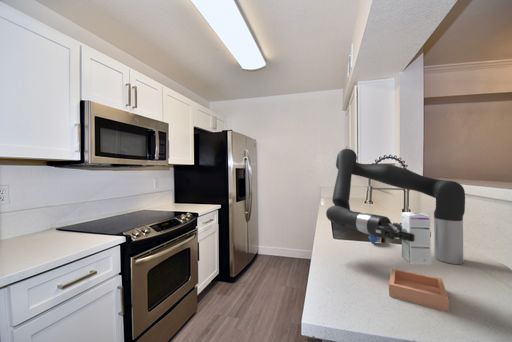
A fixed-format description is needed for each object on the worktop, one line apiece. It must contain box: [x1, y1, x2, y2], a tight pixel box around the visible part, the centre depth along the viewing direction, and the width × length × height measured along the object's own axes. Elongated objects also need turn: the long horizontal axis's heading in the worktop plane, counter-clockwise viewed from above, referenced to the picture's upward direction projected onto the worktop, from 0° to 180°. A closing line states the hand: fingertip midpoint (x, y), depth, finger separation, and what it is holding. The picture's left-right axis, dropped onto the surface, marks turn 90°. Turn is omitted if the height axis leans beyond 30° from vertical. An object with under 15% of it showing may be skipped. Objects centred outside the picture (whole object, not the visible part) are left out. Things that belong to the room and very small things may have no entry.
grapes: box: [368, 235, 379, 244], centre depth 116 cm, size 12×7×12 cm, turn 138°
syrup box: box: [401, 211, 432, 266], centre depth 68 cm, size 6×6×14 cm
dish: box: [388, 268, 450, 313], centre depth 68 cm, size 13×13×4 cm
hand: (422, 236), depth 66 cm, fingers closed on syrup box, 8 cm apart
